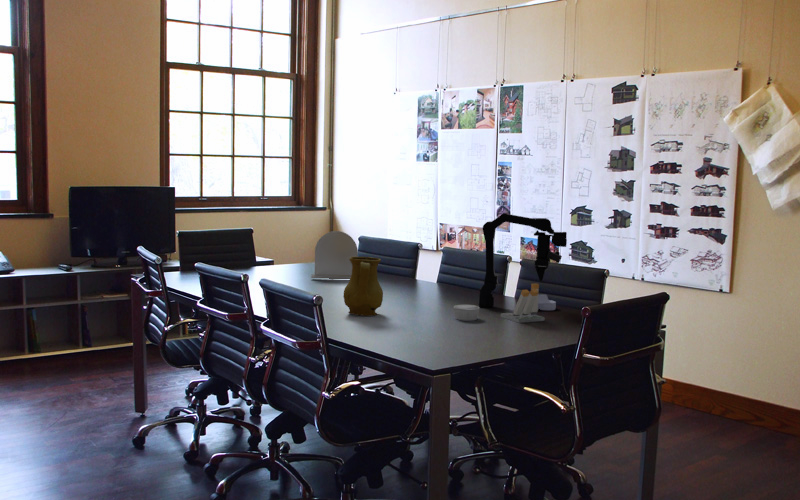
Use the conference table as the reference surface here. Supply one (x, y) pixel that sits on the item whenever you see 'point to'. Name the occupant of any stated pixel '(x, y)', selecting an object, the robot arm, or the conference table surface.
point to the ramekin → (466, 312)
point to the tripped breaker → (535, 305)
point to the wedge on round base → (545, 303)
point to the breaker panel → (522, 317)
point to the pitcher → (363, 287)
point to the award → (334, 256)
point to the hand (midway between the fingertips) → (541, 279)
